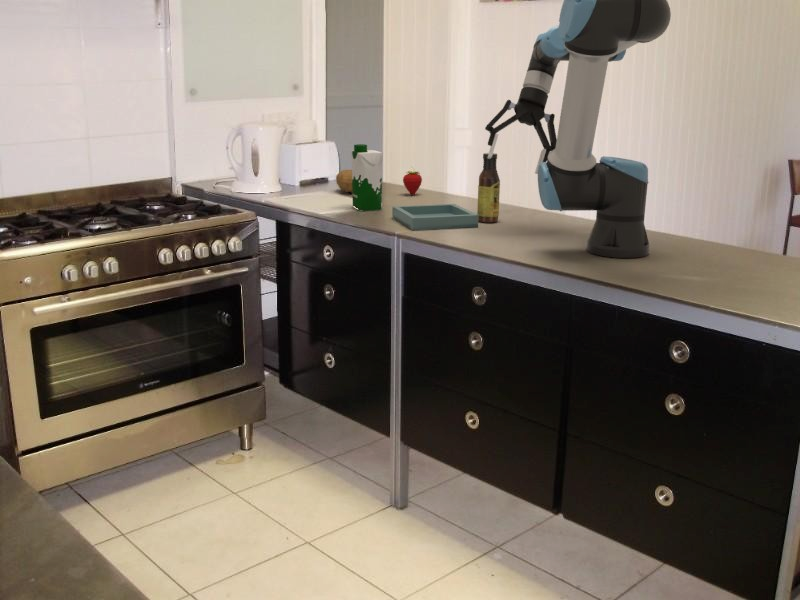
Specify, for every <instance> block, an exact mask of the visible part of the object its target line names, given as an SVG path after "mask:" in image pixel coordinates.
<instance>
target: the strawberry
mask: <svg viewBox="0 0 800 600" xmlns="http://www.w3.org/2000/svg"><path fill="white" fill-rule="evenodd" d="M411 167H412V169H414V168H413V166H412V165H411ZM420 174H421V173H420V171H415V170H413V171H410V170H409V171H407V172H406V174H405V175H404V176H403V177H402V183H403V185H404V187H405V189H406V190H407V192H408V193H409V194H410V195H411V196H415V195H416V193H417V191H418V190H419V189H420V186H421V185H422V181H423V178H422V176H421V175H420Z"/></svg>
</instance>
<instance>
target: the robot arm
mask: <svg viewBox="0 0 800 600" xmlns="http://www.w3.org/2000/svg"><path fill="white" fill-rule="evenodd" d="M671 14H672V12H671V8H670V5H669V2H668V0H563V2H562V6H561V8H560V14H559V19H558V22H559V23H558V24H559V25H555V26H552V27H551V28H549V29H548V30H547V31H546V32H543V33H539V34H538V36H537V37H536V40H535V42H534V43H533V44H534V45H533V47H532V52H531V56H530V60H529V63H528V68H527V70H526V73H525V77H524V80H523V83H522V88H521V89H520V90H521V91H520V93H519V97H518V99H517V102H516V103H514V102H512V100H510V99H507V100H506V101H505V103H504V104H503V105H504V106H503V108H501V110H500V111H499V112H498V113H497V114H496V115H495V116H494V117H493V118H492V120H490V121H489V122H488V124H486V126H485V129H484V130H485V131H487V132H489V134H490V135H489V138H488V142H487V146H489V147H490V148H489V152H488V153H489V155H488V159H491V158H492V155H493V153H494V150H495V147H496V144H497V141H498V137H499V134H498V133H499V132H500V131H502V130H504V129H505V128H507V127H508V126H510V125H511V124H513V123H515V122H517V121H518V122H519V123H520V124H523V125H524V124H525V125H527V126H530V127H531V126H533V128H534V130H535V132H536V133H537V136H538V138H539V141H540V143H541V145H542V147H543V148H542V149H541V151H540V154H539V157H538V161H537V165H536V168H535V172H534V174H536V175H537V185H538V186H537V187H538V188H537V189H538V194H539V198H540V199H539V200H540V202H541V204H542V207H543V208H544V209H546V210H547V211H558V212H562V211H564V212H565V211H571V212H572V211H573V212H574V211H575V212H577V211H596V215H595V216H596V217H595V221H594V224H593V227H592V229H591V232H590V233H589V236H588V239H587V242H586V251H587V252H588V253H591V254H593V255H596V256H602V257H606V258H618V259H619V258H621V259H632V258H633V259H636V258H643V257H645V256H648V255H649V254H650V253H649V252H650V243H649V239H648V238H649V237H648V234H647V230H646V225H645V214H646V205H647V193H648V184H649V167H648V165H646V164H645V163H644V162H642V161H637V160H634V159H630V158H629V159H628V158H621V157H614V156H604V155H603V156H601V157H600V159H599V162H597V158H596V157H595V155H594V154H593V153H592V151H593V146H594V141H595V138H596V137H595V136H596V132H597V126H598V125H597V124H598V118H599V115H600V114H599V113H600V108H601V103H602V98H603V91H604V86H605V82H606V81H605V80H606V75H607V69H608V64H609V62H620V61H622V60H623V58H624V57H625V55H626V53H627V49H629V48H631V47H633V46H635V45H638V44H639V43H640V44H646V43H647V44H648V43H650V42H653V41H654V40H656V39H658V38H659V37H661V36H662V35H663V34H664V33H665V32H666V31H667V29H668V27H669V25H670V22H671ZM561 61H566V62H568V65H567V72H566V75H565V76H566V77H565V85H564V90H563V97H562V104H561V110H560V117H559V123H558V129H557V132H556V129H555V122H554V121H555V117H556V116H555V114H554V113H551V114H549V113H545V108H546V106H547V103H548V98H549V95H548V94H549V93H550V92H551V88H552V85H553V81H554V78H555V74H556V71H557V68H558V64H560V62H561ZM511 109H513V111H514V115H512V116H511V117H509V118H508V119H506V120H505V121H503V122H501V123H500V124H498V125H497V126H495V124H496V123H497V122H498V121H499V120H500V119H501V118H502V117H503V116H504V115H505V113H506V112H507V111H510V110H511ZM542 119H544V121H545V123H547V124H546V126H547V132H548V136H549V139H548V137H547V135H546V132H545V130H544V128H543V125H542V122H541V120H542ZM494 126H495V127H494ZM556 133H557V134H556Z"/></svg>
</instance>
